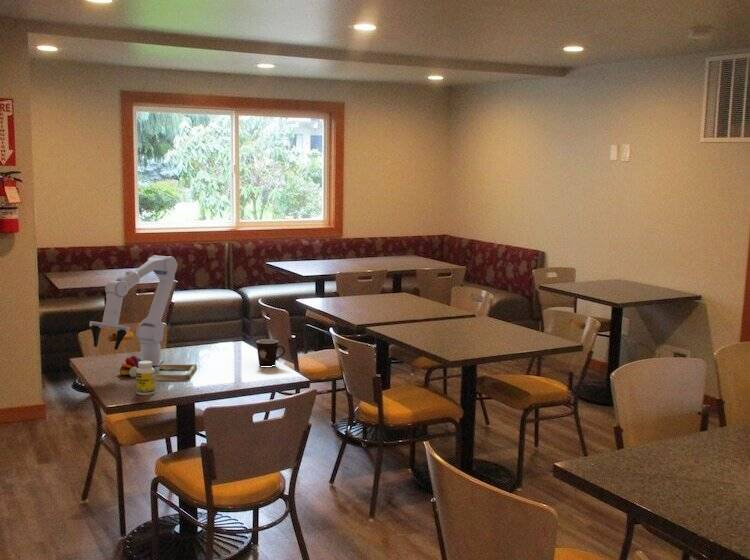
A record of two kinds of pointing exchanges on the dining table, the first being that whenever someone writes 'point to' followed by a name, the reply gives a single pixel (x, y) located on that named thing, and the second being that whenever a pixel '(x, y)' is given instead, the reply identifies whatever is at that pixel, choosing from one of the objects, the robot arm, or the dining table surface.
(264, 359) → the coffee mug
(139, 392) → the pill bottle
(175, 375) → the beige wooden tray
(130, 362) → the red and white piece
